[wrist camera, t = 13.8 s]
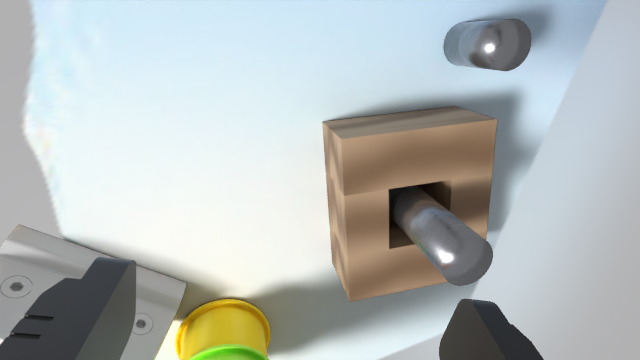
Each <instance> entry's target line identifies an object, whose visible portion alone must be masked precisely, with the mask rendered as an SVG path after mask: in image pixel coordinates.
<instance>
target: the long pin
mask: <svg viewBox="0 0 640 360" xmlns="http://www.w3.org/2000/svg"><path fill="white" fill-rule="evenodd" d="M389 215H390V217H391V218H392V219H393V220H394V221H395V222H396V223H397V225H398V226H399V227H400V228H401V229H402V230H403V231H404V232H405V234H406V235H407V236H408V237H409V238H410V239H411V240H412V241H413V243H414V244H415V245H416V246H417V247H418V248H419V249H420V251H421V252H422V253H423V254H424V255H425V256H426V257H427V258H428V260H429V261H430V262H431V263H432V264H433V265H434V266H435V267H436V269H437V270H438V271H439V272H440V273H441V274H442V275H443V276H444V278H445V279H446V280H447V281H448V282H450V283H451V284H454V285H468V284H471V283H473V282H475V281H477V280H478V279H480V278H481V277H482V276H483V275H484V274H485V273H486V272H487V270H488V269H489V267H490V265H491V262H492V258H493V251H492V248H491V245H490V244H489V243H488V242H487V241H486V240H485V239H484V238H482V237H481V236H480V235H479V234H477V233H476V232H475V231H474V230H472V229H471V228H470V227H469V226H467V225H466V224H465V223H464V222H462V221H461V220H460V219H459V218H457V217H456V216H455V215H454V214H452V213H451V212H450V211H449V210H447V209H446V208H445V207H444V206H442V205H441V204H440V203H439V202H437V201H436V200H435V199H434V198H432V197H431V196H430V195H428V194H427V193H426V192H425V191H423V190H422V189H421V188H420V187H418V186H417V185H413V186H406V187H400V188H393V189H389Z"/></svg>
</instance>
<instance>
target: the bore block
mask: <svg viewBox="0 0 640 360" xmlns="http://www.w3.org/2000/svg"><path fill="white" fill-rule="evenodd" d="M322 123H323V137H324V151H325V165H326V179H327V193H328V207H329V221H330V236H331V250H332V263H333V265H334V267H335V269H336V272H337V274H338V276H339V278H340V281H341V283H342V285H343V287H344V290H345V292H346V294H347V296H348V299H349V301H350V302H351V301H356V300H361V299H366V298H371V297H376V296H381V295H386V294H391V293H396V292H401V291H406V290H411V289H416V288H421V287H426V286H431V285H435V284H440V283H445V282H448V281H447V280H446V279H445V278H444V276H443V275H442V274H441V273H440V272H439V271H438V270H437V269H436V267H435V266H434V265H433V264H432V263H431V262H430V261H429V260H428V258H427V257H426V256H425V255H424V254H423V253H422V252H421V251H420V249H419V248H418V247H417V246H416V245H415V244H414V243H413V241H412V240H411V239H410V238H409V237H408V236H407V235H406V234H405V232H404V231H403V230H402V229H401V228H400V227H399V226H398V225H397V223H396V222H395V221H394V220H393V219H392V218H391V217H390V215H389V189H393V188H400V187H406V186H413V185H417V186H418V187H420V188H421V189H422V190H423V191H425V192H426V193H427V194H428V195H430V196H431V197H432V198H434V199H435V200H436V201H437V202H439V203H440V204H441V205H442V206H444V207H445V208H446V209H447V210H449V211H450V212H451V213H452V214H454V215H455V216H456V217H457V218H459V219H460V220H461V221H462V222H464V223H465V224H466V225H467V226H469V227H470V228H471V229H472V230H474V231H475V232H476V233H477V234H479V235H480V236H481V237H482V238H484V239H485V240H486V235H487V224H488V213H489V203H490V192H491V181H492V171H493V160H494V149H495V138H496V128H497V119H495V118H492V117H489V116H485V115H482V114H479V113H476V112H472V111H469V110H466V109H462V108H459V107H456V106H451V107H443V108H434V109H426V110H417V111H409V112H400V113H392V114H384V115H375V116H367V117H358V118H350V119H341V120H333V121H325V122H322Z"/></svg>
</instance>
